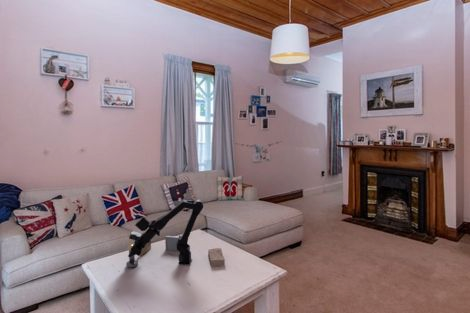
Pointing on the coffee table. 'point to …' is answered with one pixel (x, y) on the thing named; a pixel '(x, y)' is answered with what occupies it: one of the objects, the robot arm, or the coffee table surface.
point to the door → (146, 248)
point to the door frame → (171, 242)
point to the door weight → (131, 260)
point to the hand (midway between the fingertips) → (129, 255)
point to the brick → (216, 257)
